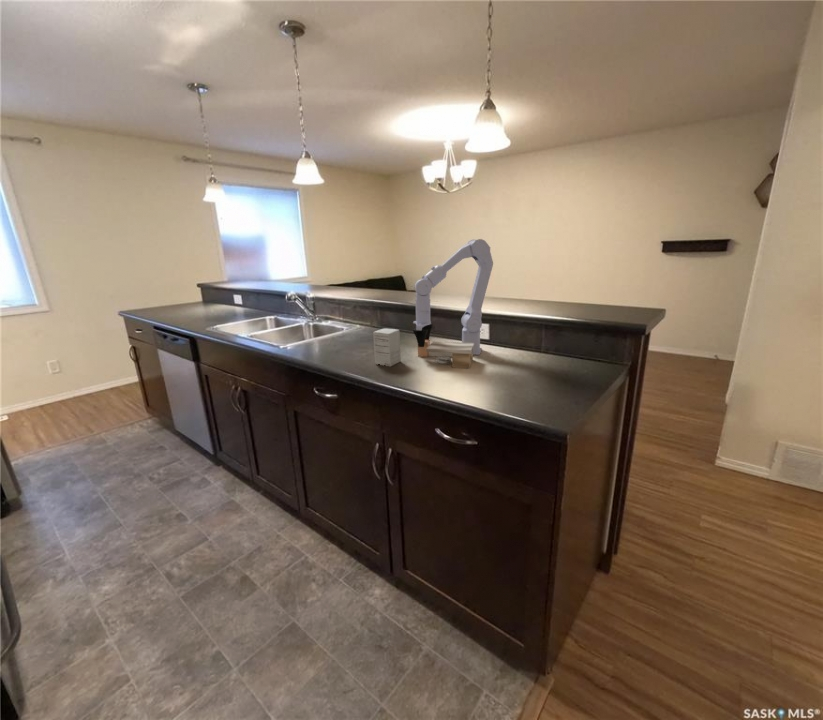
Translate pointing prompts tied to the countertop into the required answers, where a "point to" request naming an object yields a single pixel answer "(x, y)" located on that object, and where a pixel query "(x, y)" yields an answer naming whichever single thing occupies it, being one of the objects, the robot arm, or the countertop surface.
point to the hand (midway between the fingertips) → (423, 344)
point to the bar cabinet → (455, 352)
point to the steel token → (443, 360)
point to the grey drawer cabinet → (387, 346)
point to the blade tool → (423, 352)
